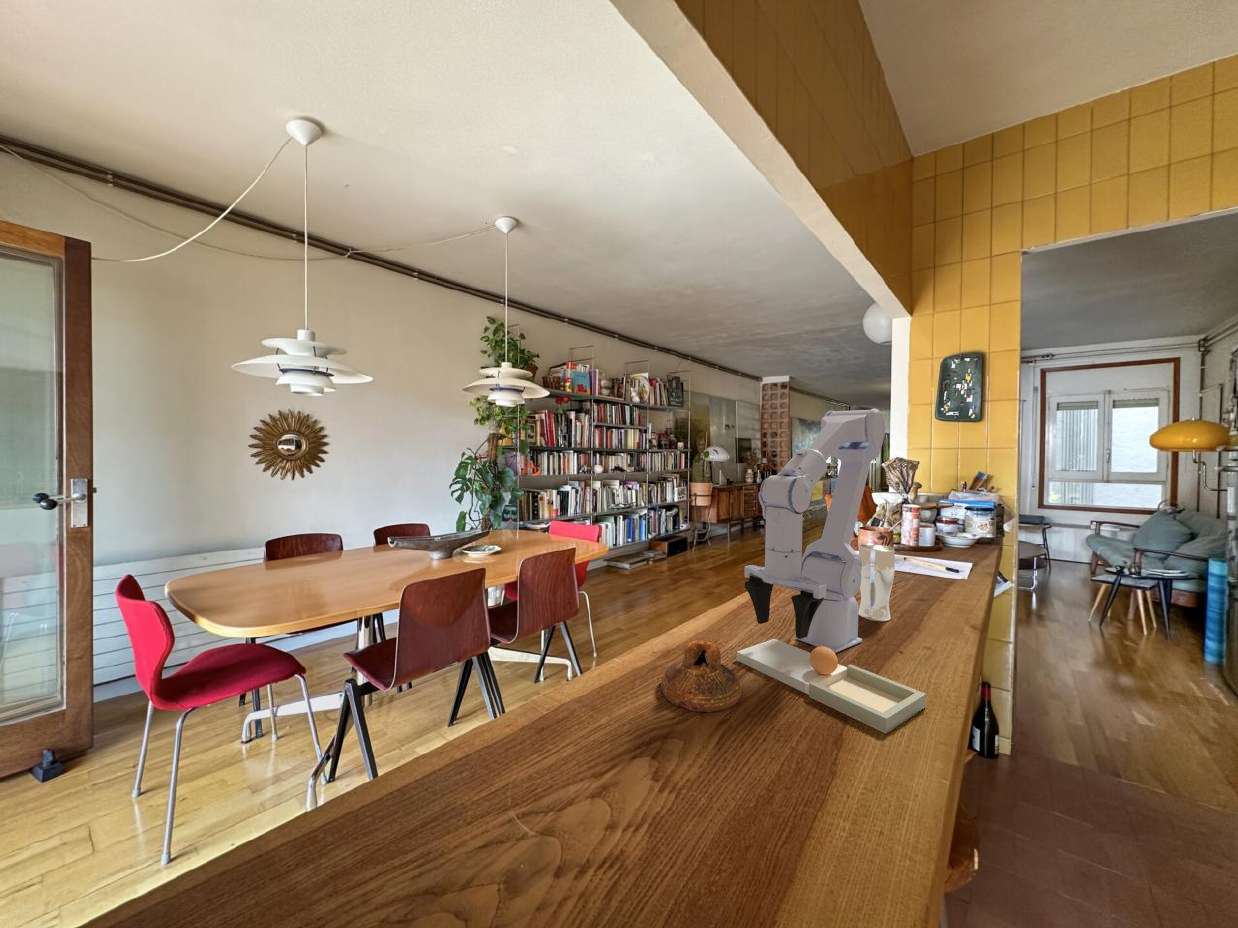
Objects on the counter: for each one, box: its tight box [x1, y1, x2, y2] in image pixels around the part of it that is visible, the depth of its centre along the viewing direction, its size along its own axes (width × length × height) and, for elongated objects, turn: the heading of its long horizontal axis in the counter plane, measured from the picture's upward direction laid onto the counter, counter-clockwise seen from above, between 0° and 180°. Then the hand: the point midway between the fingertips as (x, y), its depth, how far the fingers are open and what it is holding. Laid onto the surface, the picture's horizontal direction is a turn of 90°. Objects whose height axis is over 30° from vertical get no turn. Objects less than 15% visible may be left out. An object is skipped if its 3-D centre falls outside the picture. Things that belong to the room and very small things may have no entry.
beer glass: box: [858, 543, 896, 622], centre depth 105 cm, size 7×7×15 cm
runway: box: [736, 638, 847, 696], centre depth 80 cm, size 10×14×2 cm
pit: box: [808, 663, 927, 735], centre depth 70 cm, size 11×11×2 cm
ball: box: [810, 647, 839, 675], centre depth 76 cm, size 4×4×4 cm
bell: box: [660, 639, 742, 713], centre depth 73 cm, size 12×12×7 cm
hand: (781, 629), depth 82 cm, fingers open, 7 cm apart
